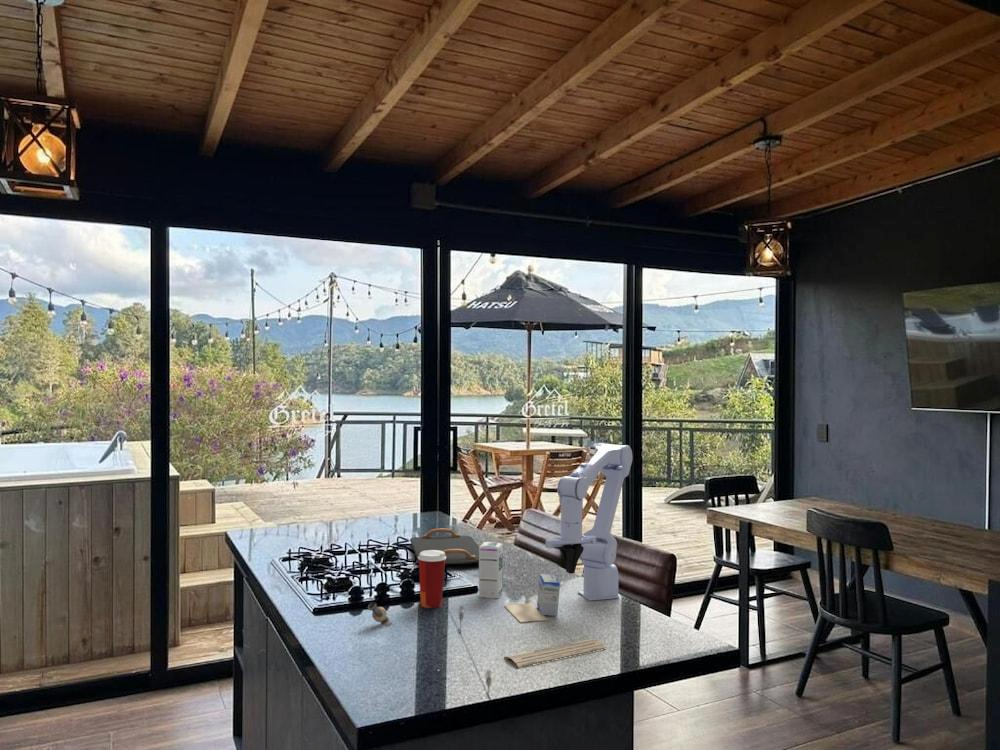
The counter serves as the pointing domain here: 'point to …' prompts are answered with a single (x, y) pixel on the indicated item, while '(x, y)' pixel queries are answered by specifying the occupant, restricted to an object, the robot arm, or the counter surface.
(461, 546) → the serving board
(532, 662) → the tan ridged strip
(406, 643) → the counter surface
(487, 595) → the syrup box
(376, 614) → the vase
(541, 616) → the cork mat
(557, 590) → the medicine box
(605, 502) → the robot arm
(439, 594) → the paper cup
